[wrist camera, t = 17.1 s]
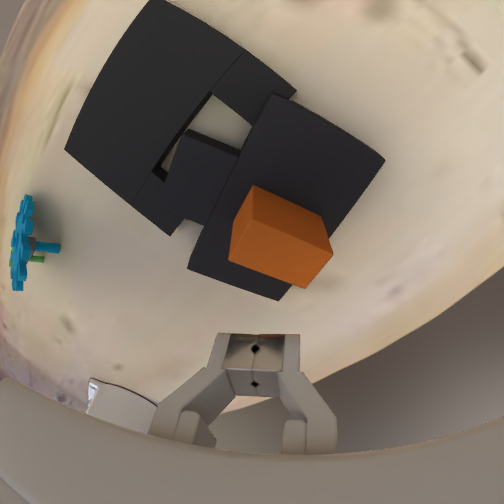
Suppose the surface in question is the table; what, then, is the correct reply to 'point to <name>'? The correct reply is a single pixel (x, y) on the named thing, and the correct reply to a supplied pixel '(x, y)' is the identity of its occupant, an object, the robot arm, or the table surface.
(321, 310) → the table surface
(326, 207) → the pad
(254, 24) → the table surface
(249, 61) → the socket pad
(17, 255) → the gear
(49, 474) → the robot arm
